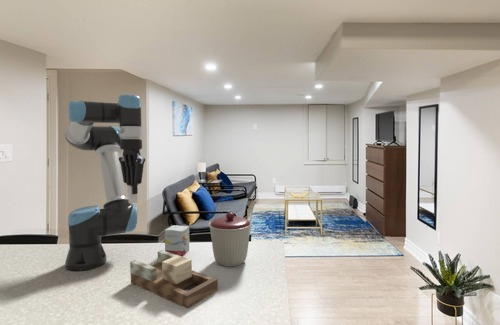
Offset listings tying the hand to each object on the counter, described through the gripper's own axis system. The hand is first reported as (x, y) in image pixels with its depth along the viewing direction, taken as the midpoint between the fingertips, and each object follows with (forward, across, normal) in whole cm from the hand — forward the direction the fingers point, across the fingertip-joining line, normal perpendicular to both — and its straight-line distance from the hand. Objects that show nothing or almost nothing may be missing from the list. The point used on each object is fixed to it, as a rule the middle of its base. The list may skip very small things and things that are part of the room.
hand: (133, 202), depth 115 cm
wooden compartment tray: (+28, +18, +3) cm, 33 cm away
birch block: (+24, +20, +3) cm, 32 cm away
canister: (+29, +20, +32) cm, 47 cm away
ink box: (+29, -6, +26) cm, 39 cm away
